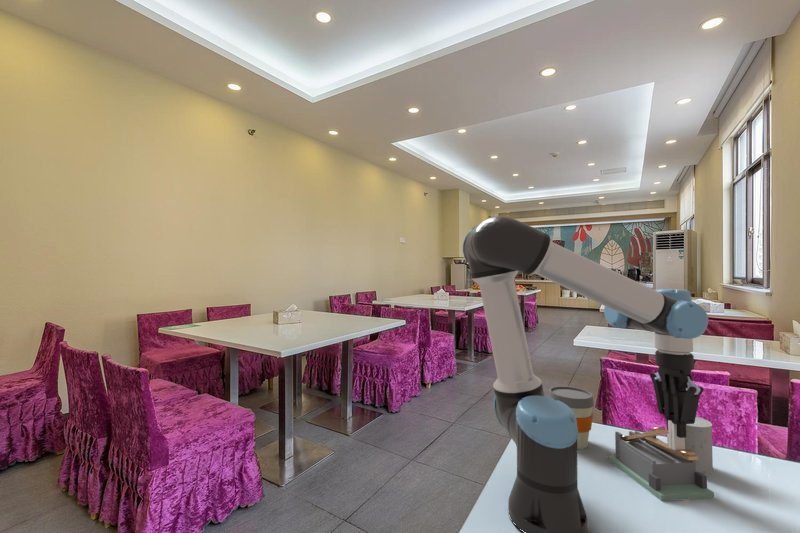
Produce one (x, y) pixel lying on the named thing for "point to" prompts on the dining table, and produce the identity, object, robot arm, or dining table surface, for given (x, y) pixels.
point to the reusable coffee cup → (577, 409)
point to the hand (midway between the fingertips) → (676, 448)
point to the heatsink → (659, 470)
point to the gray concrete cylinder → (700, 444)
